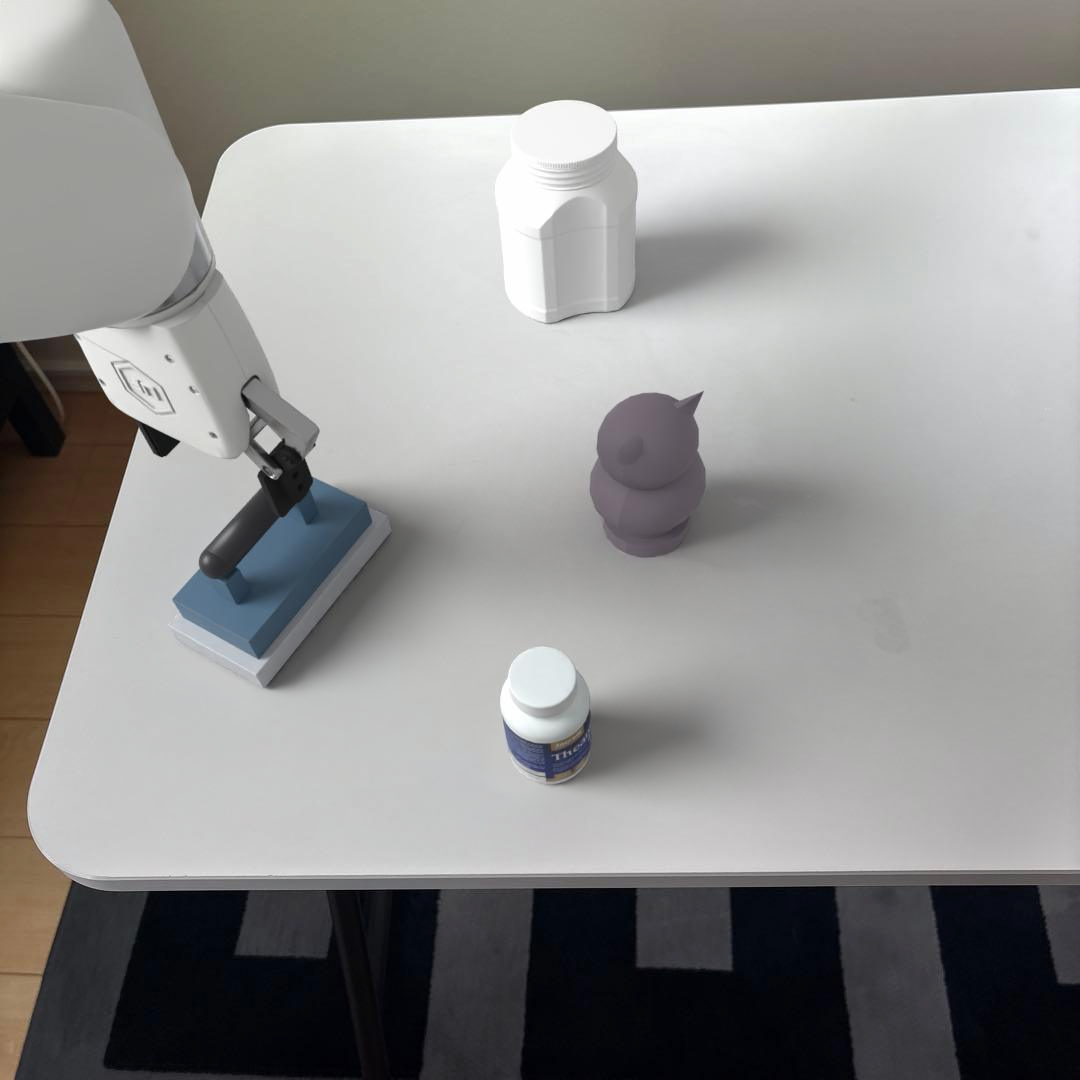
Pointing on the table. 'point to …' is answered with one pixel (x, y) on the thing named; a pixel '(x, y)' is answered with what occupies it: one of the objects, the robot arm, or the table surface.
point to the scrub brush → (274, 578)
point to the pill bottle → (546, 716)
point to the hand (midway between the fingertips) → (233, 469)
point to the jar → (567, 213)
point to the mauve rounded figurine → (648, 472)
